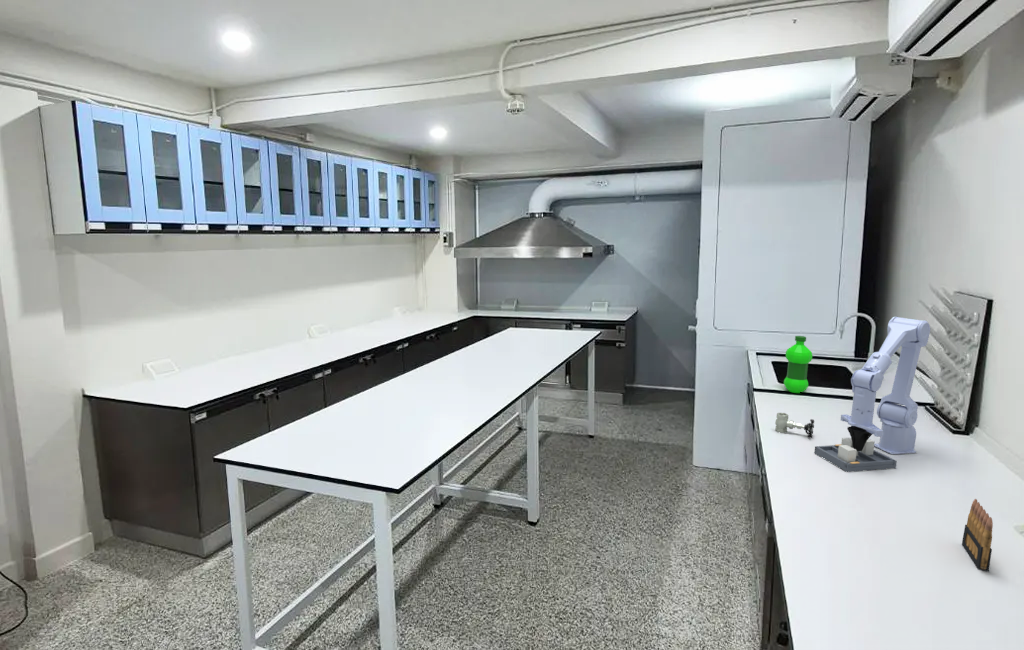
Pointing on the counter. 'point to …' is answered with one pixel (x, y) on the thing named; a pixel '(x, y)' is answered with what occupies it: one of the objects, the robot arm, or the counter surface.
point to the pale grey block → (868, 447)
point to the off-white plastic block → (847, 453)
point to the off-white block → (848, 443)
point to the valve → (791, 424)
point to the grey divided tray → (861, 460)
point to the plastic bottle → (797, 366)
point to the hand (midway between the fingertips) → (857, 450)
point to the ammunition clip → (978, 536)
